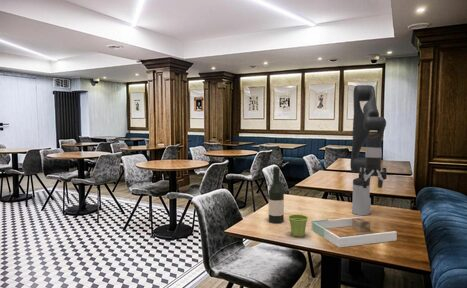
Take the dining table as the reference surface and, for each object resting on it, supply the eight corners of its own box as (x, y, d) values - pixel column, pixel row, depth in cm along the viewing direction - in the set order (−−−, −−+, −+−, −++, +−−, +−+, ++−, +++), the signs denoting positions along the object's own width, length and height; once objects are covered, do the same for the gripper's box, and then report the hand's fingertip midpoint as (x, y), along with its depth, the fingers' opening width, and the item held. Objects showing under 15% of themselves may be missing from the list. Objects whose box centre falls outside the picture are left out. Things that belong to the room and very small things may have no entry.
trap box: (361, 224, 168) (362, 215, 168) (396, 240, 145) (396, 230, 145) (311, 229, 160) (311, 220, 160) (339, 247, 137) (339, 237, 137)
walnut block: (362, 227, 163) (362, 217, 163) (370, 231, 158) (370, 221, 157) (352, 228, 162) (352, 218, 161) (359, 232, 156) (359, 222, 156)
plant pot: (296, 239, 146) (296, 221, 146) (284, 233, 155) (284, 216, 154) (312, 236, 151) (312, 218, 150) (299, 230, 159) (299, 213, 158)
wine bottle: (284, 219, 176) (285, 166, 174) (282, 224, 168) (282, 168, 166) (270, 218, 178) (270, 165, 176) (266, 222, 171) (267, 167, 168)
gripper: (381, 155, 166) (379, 186, 166) (356, 155, 163) (355, 186, 164) (390, 156, 158) (389, 189, 159) (365, 157, 156) (363, 189, 156)
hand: (372, 187), depth 161 cm, fingers open, 8 cm apart
